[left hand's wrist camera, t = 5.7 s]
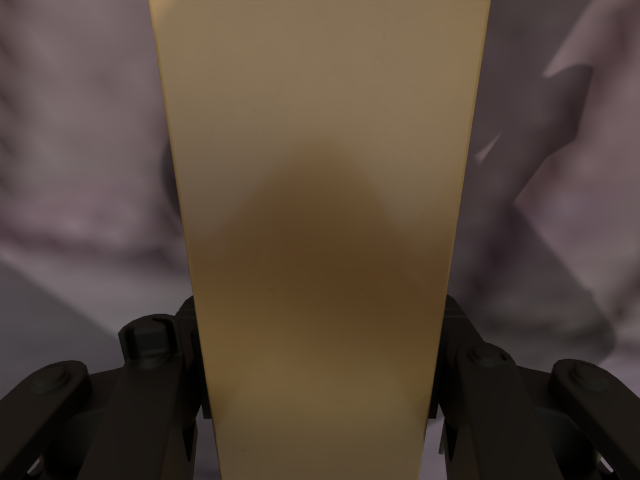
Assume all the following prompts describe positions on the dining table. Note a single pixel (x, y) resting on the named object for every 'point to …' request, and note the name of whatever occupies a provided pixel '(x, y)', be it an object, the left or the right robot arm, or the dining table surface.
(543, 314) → the dining table surface
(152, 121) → the dining table surface
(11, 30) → the dining table surface
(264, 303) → the beam
